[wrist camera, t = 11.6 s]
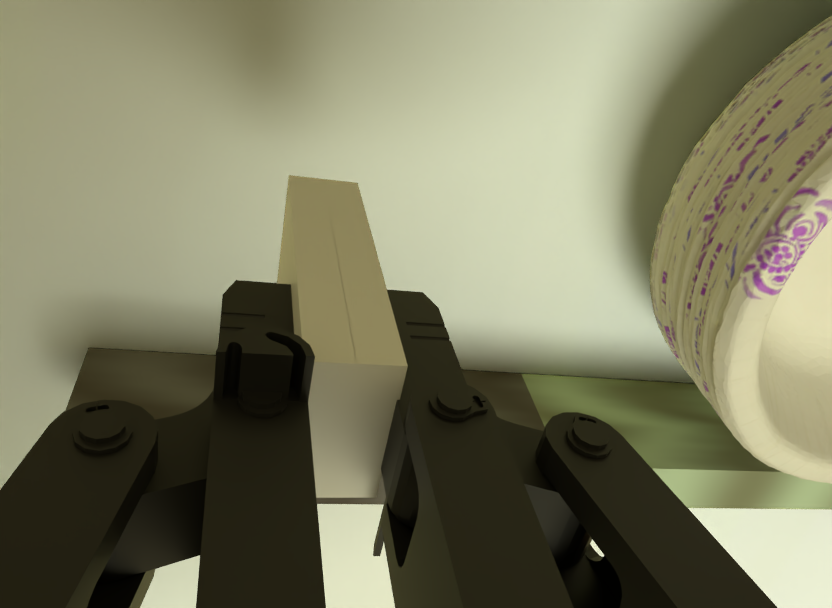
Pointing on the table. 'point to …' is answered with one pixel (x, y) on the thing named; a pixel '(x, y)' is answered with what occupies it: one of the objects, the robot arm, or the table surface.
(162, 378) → the shallow tray
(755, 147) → the paper bowls
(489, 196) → the table surface
